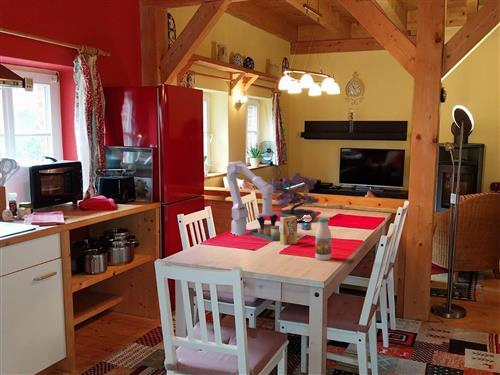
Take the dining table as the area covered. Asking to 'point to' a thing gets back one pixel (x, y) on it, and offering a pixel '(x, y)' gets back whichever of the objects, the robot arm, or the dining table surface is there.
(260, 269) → the dining table surface
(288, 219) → the candy box
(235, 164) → the robot arm
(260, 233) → the plate
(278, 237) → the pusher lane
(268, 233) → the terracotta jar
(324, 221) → the milk bottle
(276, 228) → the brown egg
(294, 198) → the bonsai tree
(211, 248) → the dining table surface
